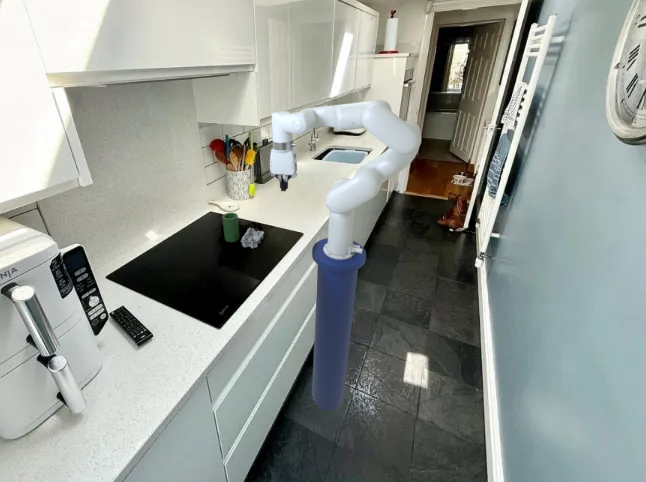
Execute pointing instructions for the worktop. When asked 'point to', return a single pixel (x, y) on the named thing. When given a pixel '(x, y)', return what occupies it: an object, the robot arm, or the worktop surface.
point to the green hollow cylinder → (231, 227)
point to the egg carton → (252, 238)
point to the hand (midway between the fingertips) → (284, 190)
